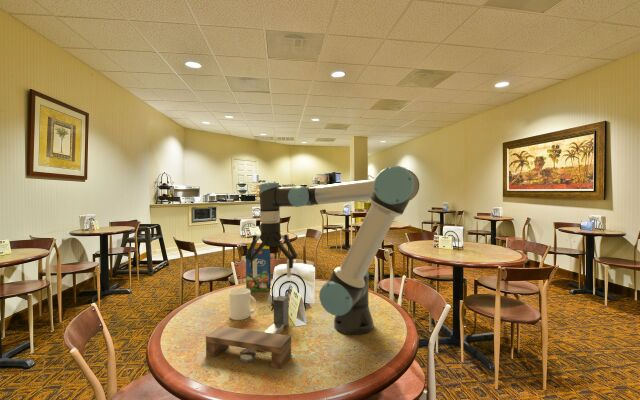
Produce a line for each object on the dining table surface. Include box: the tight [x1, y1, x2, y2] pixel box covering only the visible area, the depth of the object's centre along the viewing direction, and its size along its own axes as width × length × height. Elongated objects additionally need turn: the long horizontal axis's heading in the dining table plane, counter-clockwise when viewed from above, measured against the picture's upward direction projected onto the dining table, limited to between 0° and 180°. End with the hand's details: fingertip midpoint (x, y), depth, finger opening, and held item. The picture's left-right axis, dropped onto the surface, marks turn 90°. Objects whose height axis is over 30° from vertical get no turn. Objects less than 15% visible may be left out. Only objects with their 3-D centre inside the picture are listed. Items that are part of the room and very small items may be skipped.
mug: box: [228, 287, 258, 321], centre depth 129 cm, size 9×12×11 cm
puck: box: [239, 348, 257, 364], centre depth 95 cm, size 5×5×2 cm
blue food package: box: [245, 243, 272, 292], centre depth 166 cm, size 6×12×25 cm, turn 89°
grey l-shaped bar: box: [264, 295, 290, 334], centre depth 112 cm, size 21×4×11 cm, turn 163°
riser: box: [205, 325, 292, 370], centre depth 98 cm, size 26×8×6 cm, turn 73°
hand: (271, 276), depth 119 cm, fingers open, 13 cm apart
